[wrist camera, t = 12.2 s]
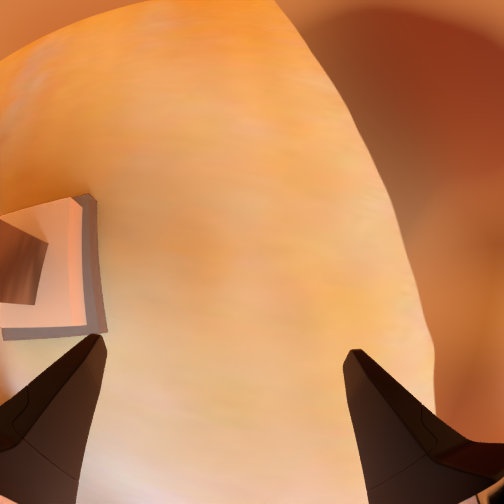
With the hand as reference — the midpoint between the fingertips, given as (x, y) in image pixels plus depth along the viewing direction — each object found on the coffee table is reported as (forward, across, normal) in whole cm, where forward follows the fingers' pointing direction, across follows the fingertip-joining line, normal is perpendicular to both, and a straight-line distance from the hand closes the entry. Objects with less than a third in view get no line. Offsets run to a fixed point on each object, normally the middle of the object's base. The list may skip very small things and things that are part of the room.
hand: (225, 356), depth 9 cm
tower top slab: (+11, +17, +5) cm, 21 cm away
